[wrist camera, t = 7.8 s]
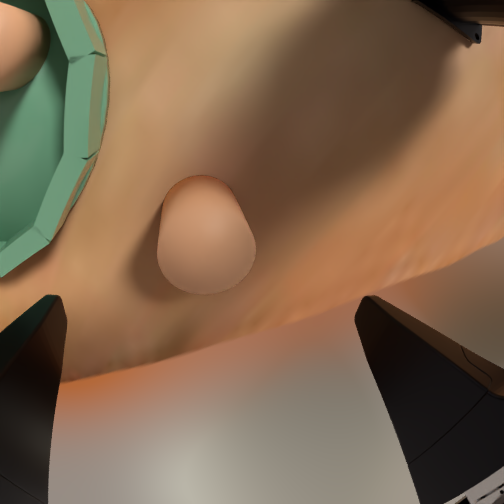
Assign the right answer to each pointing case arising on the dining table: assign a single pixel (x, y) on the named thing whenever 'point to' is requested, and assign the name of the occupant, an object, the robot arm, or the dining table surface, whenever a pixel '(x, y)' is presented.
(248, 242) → the bead
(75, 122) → the ring tray
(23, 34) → the bead
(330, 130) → the dining table surface
